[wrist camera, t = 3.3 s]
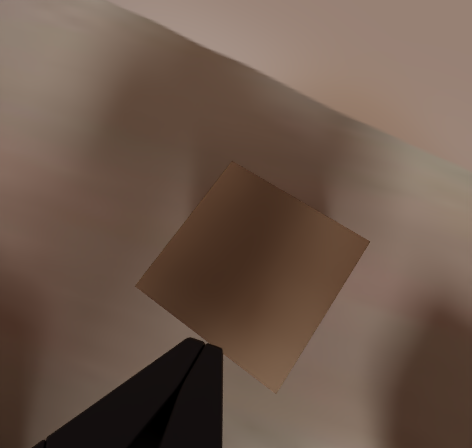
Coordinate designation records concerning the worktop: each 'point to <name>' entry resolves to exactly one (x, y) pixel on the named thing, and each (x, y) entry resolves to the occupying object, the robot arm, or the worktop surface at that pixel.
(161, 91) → the worktop surface
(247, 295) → the plain block
